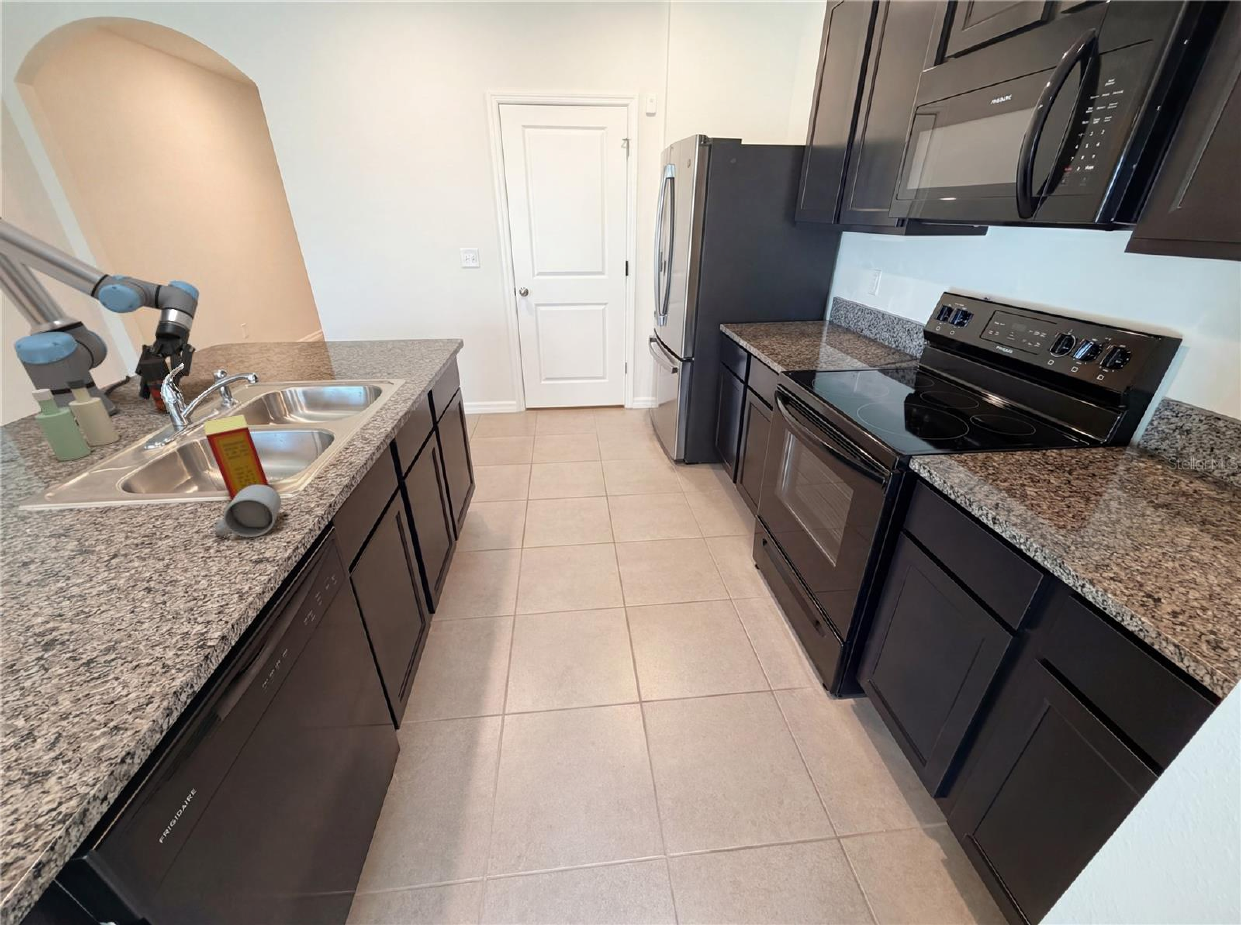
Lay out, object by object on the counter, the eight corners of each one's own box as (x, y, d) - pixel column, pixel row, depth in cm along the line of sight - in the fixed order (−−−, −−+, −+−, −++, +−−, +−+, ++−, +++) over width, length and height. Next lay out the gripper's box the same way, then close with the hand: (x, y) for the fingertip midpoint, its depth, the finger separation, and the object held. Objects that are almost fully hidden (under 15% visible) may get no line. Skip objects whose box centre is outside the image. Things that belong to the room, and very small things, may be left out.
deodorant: (188, 409, 153) (168, 360, 146) (164, 415, 148) (143, 364, 141) (179, 405, 155) (159, 357, 149) (155, 411, 151) (134, 362, 144)
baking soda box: (230, 490, 107) (202, 419, 100) (267, 481, 110) (242, 412, 103) (235, 508, 100) (205, 434, 93) (273, 497, 104) (247, 425, 97)
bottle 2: (96, 438, 132) (66, 377, 125) (124, 435, 134) (95, 375, 127) (84, 447, 127) (51, 384, 120) (112, 444, 129) (82, 381, 122)
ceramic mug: (287, 510, 99) (274, 476, 96) (280, 532, 92) (266, 495, 89) (223, 523, 95) (207, 487, 92) (211, 546, 89) (193, 509, 85)
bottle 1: (66, 452, 125) (32, 388, 117) (96, 449, 126) (63, 385, 119) (52, 462, 120) (15, 395, 112) (83, 458, 121) (48, 393, 114)
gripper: (215, 335, 158) (199, 401, 150) (151, 336, 156) (132, 403, 149) (197, 320, 151) (180, 390, 143) (130, 322, 149) (109, 392, 142)
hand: (156, 397), depth 146 cm, fingers closed on deodorant, 6 cm apart
